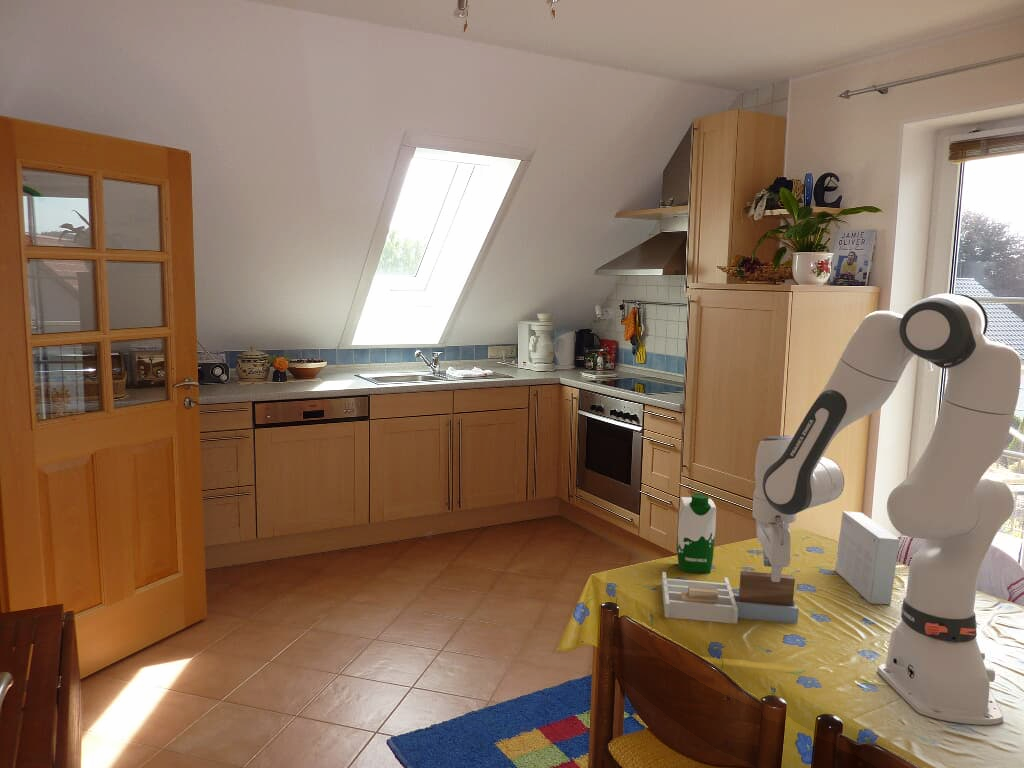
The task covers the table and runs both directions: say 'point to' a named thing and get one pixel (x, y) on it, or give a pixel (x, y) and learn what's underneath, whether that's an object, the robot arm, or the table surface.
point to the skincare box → (867, 557)
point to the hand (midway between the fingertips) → (771, 573)
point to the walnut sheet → (766, 589)
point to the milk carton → (696, 534)
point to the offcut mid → (686, 598)
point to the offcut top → (703, 592)
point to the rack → (698, 611)
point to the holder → (767, 611)
